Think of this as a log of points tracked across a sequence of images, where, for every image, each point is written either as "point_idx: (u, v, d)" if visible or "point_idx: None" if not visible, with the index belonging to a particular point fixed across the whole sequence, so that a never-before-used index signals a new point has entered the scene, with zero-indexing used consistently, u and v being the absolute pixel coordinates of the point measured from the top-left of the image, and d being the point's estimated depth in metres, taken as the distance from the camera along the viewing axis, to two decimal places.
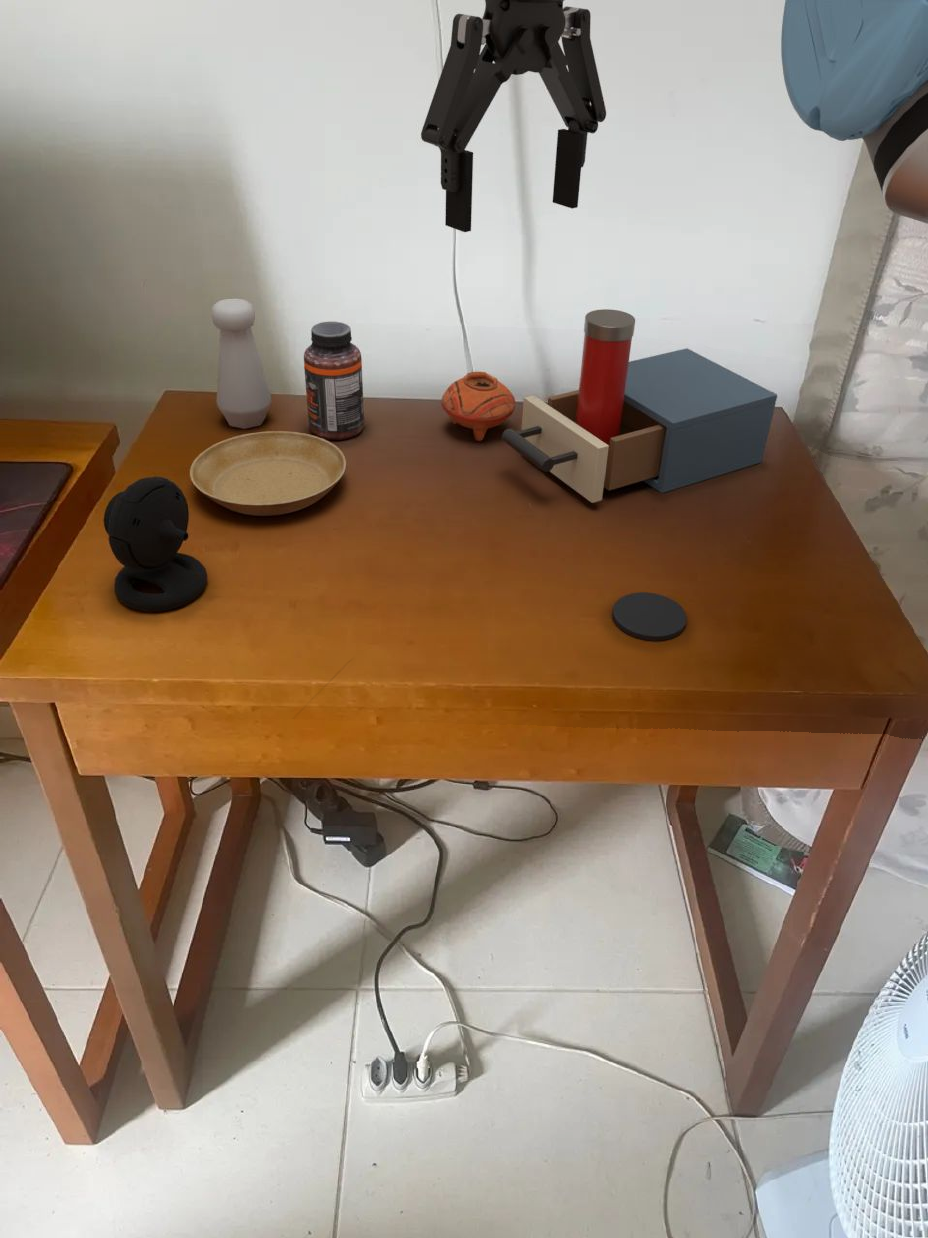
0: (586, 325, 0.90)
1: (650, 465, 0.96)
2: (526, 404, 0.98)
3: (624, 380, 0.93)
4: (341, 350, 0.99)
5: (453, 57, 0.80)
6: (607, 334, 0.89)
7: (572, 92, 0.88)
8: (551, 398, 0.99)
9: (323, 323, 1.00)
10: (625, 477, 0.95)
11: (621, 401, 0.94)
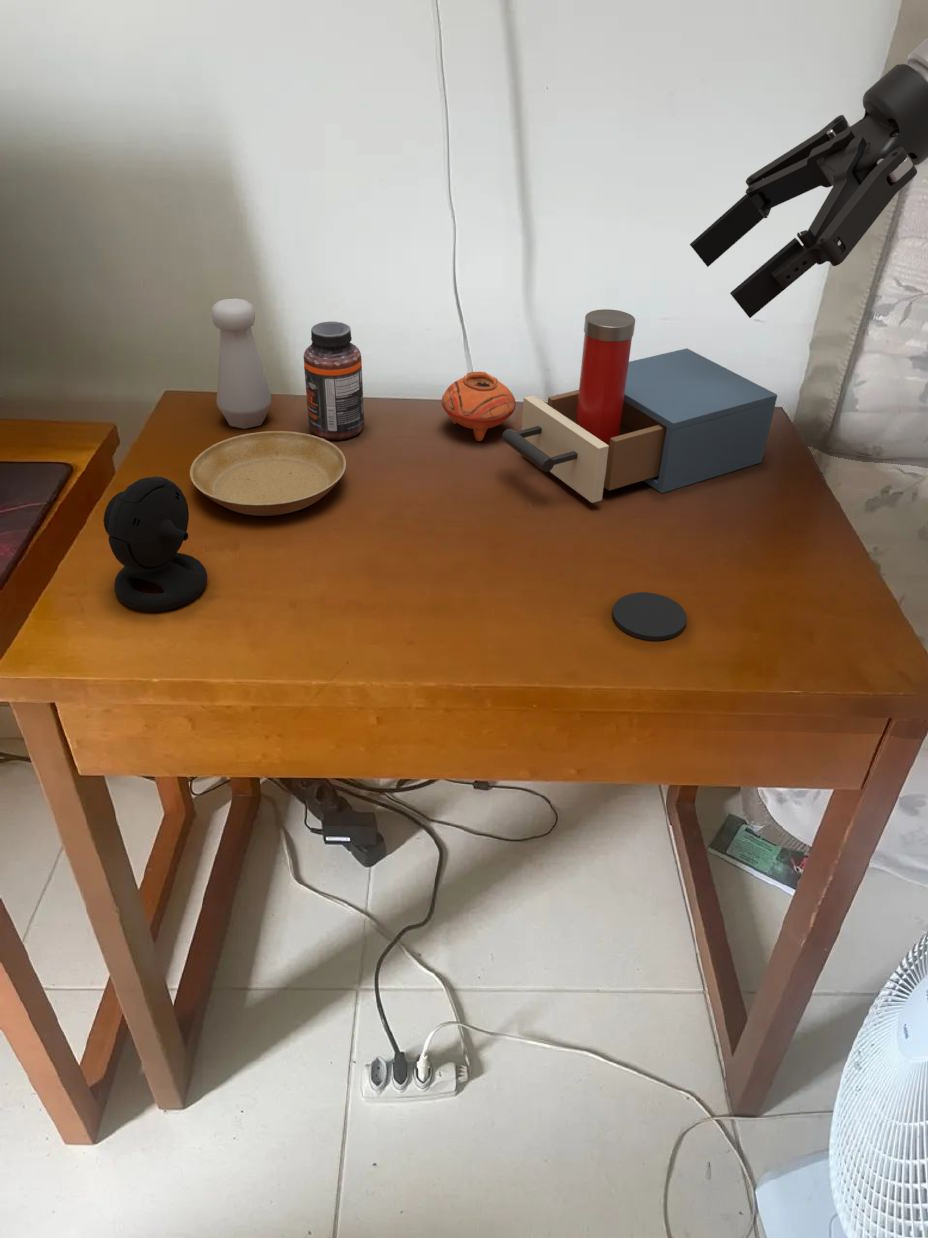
0: (586, 325, 0.90)
1: (650, 465, 0.96)
2: (526, 404, 0.98)
3: (624, 380, 0.93)
4: (341, 350, 0.99)
5: (880, 186, 0.78)
6: (607, 334, 0.89)
7: None
8: (551, 398, 0.99)
9: (323, 323, 1.00)
10: (625, 477, 0.95)
11: (621, 401, 0.94)
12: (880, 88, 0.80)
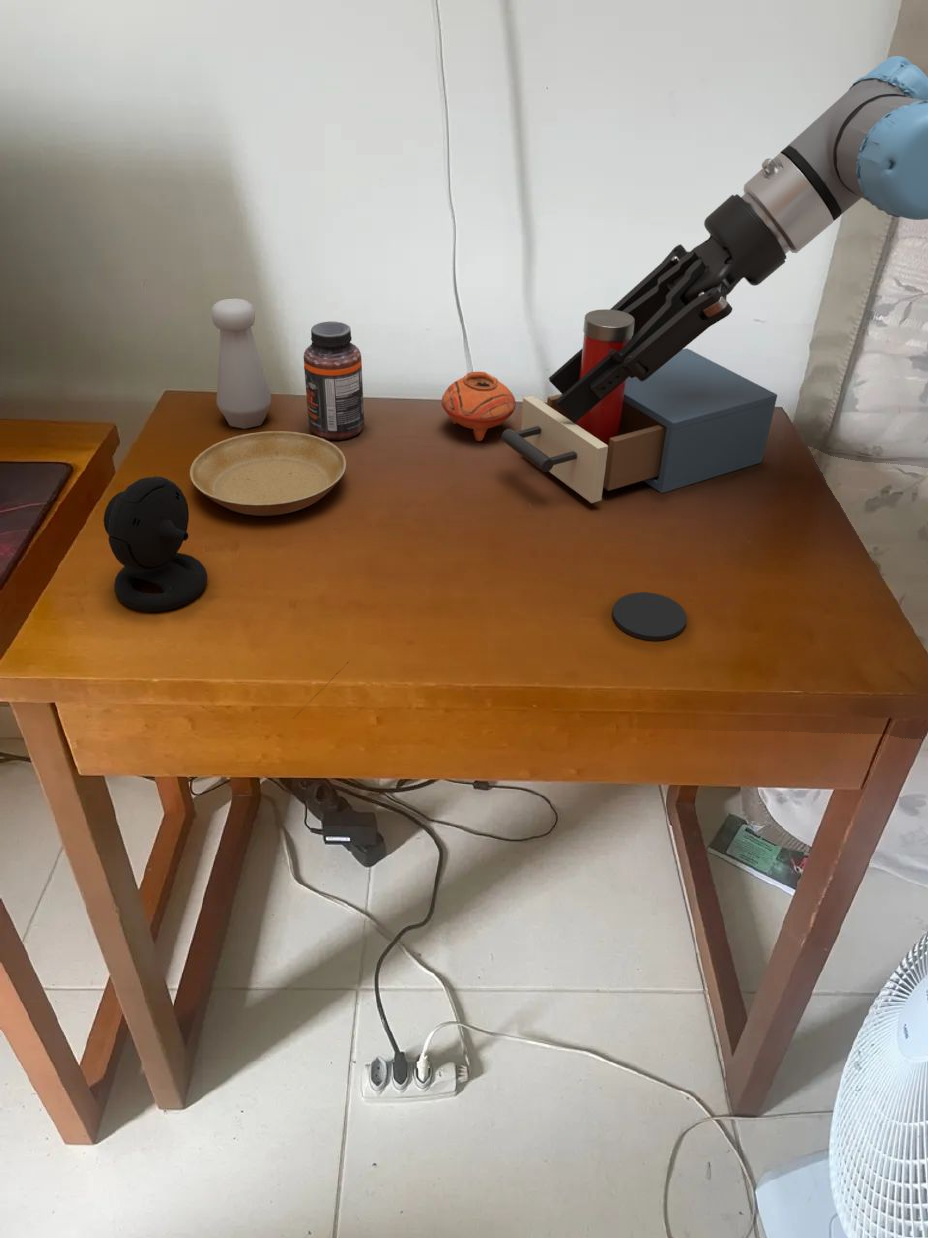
0: (585, 325, 0.90)
1: (649, 465, 0.96)
2: (525, 404, 0.98)
3: None
4: (341, 350, 0.99)
5: (691, 320, 0.85)
6: (606, 334, 0.89)
7: None
8: (550, 398, 0.98)
9: (323, 323, 1.00)
10: (624, 477, 0.95)
11: (621, 401, 0.94)
12: (716, 217, 0.85)
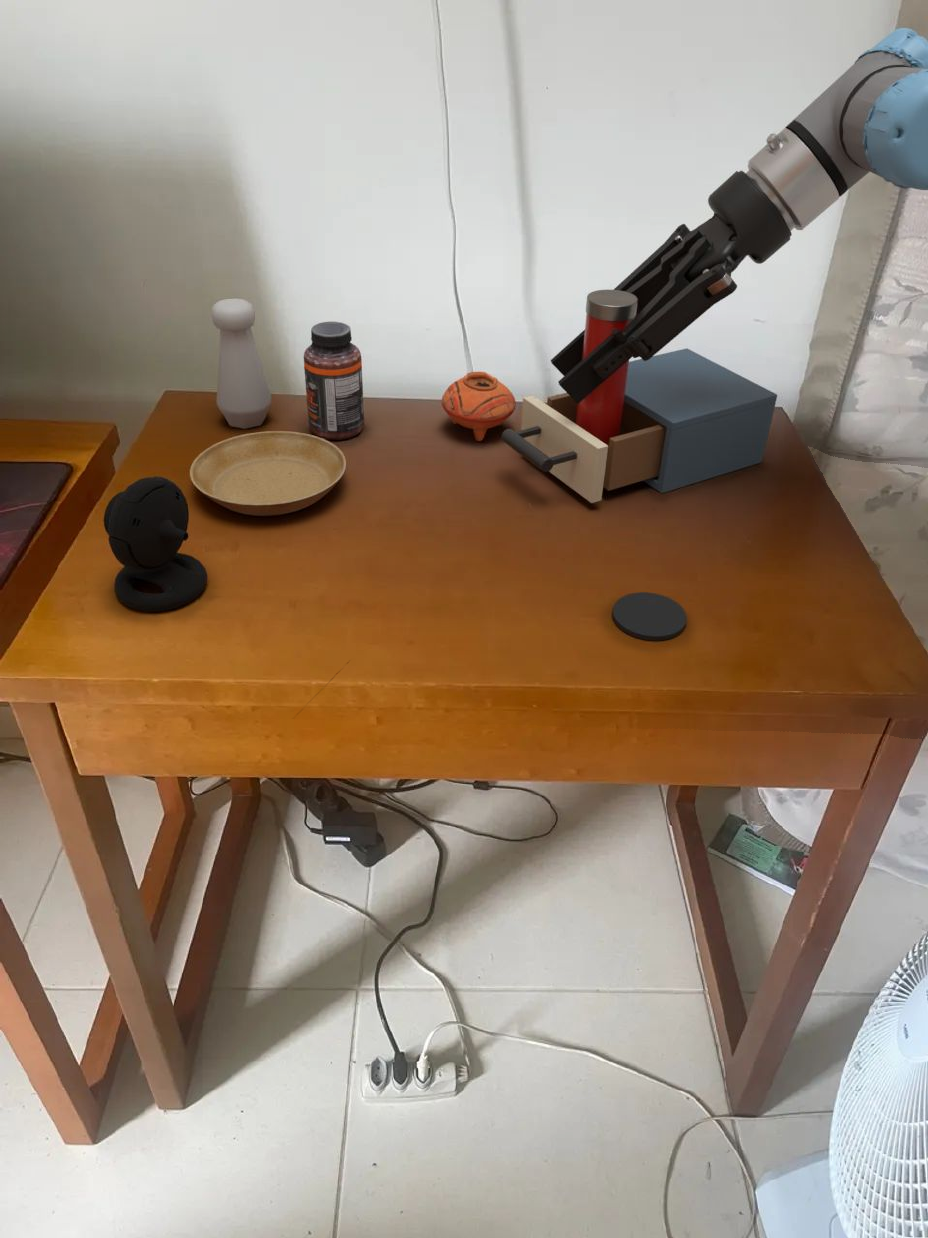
0: (588, 305, 0.89)
1: (649, 465, 0.96)
2: (525, 404, 0.98)
3: (627, 361, 0.92)
4: (341, 350, 0.99)
5: (695, 298, 0.84)
6: (609, 313, 0.88)
7: None
8: (550, 398, 0.99)
9: (323, 323, 1.00)
10: (624, 477, 0.95)
11: (624, 383, 0.93)
12: (720, 194, 0.84)
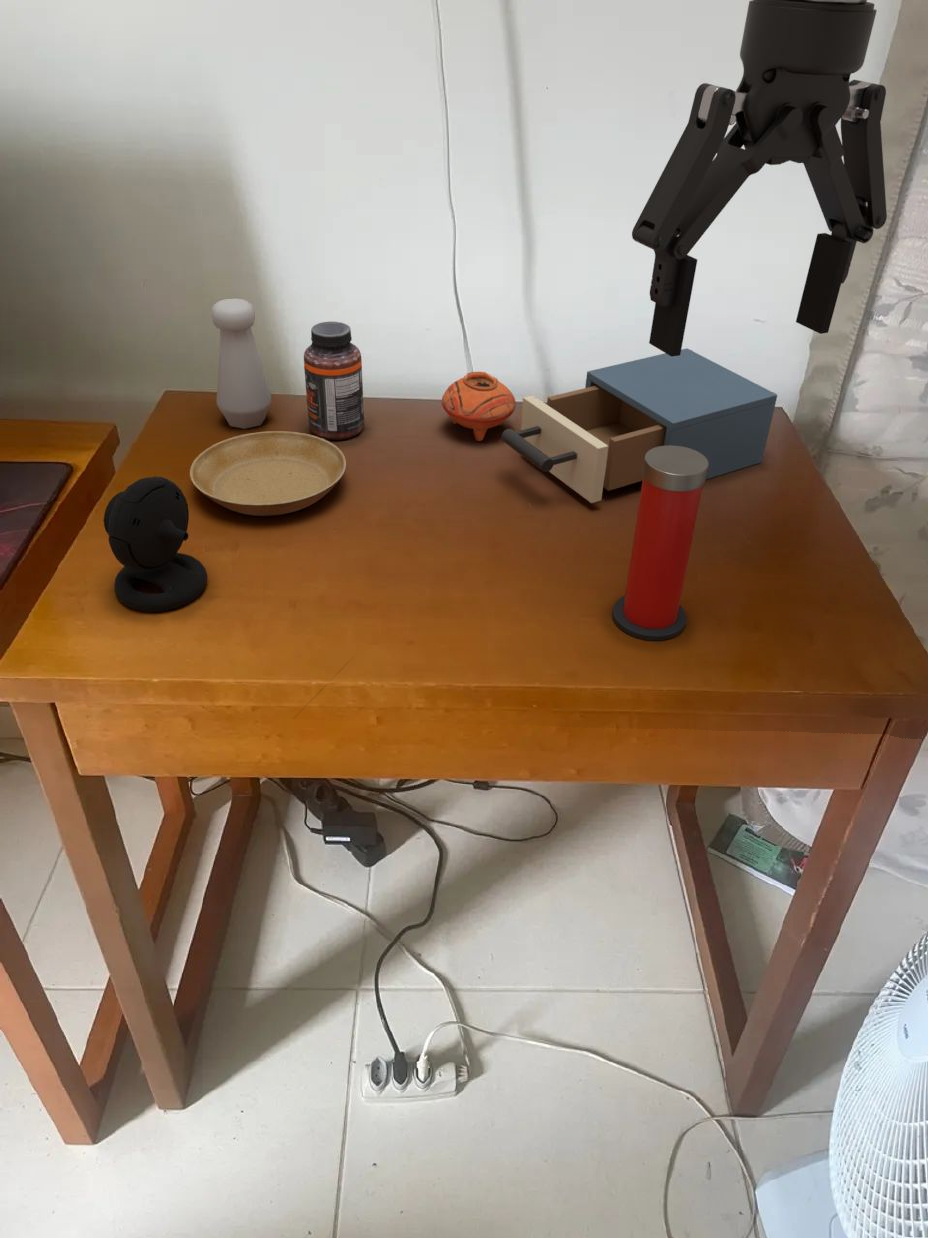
0: (646, 469, 0.72)
1: None
2: (525, 404, 0.98)
3: (692, 533, 0.74)
4: (341, 350, 0.99)
5: None
6: (674, 483, 0.70)
7: None
8: (550, 398, 0.99)
9: (323, 323, 1.00)
10: (624, 477, 0.95)
11: (687, 556, 0.75)
12: (854, 55, 0.58)
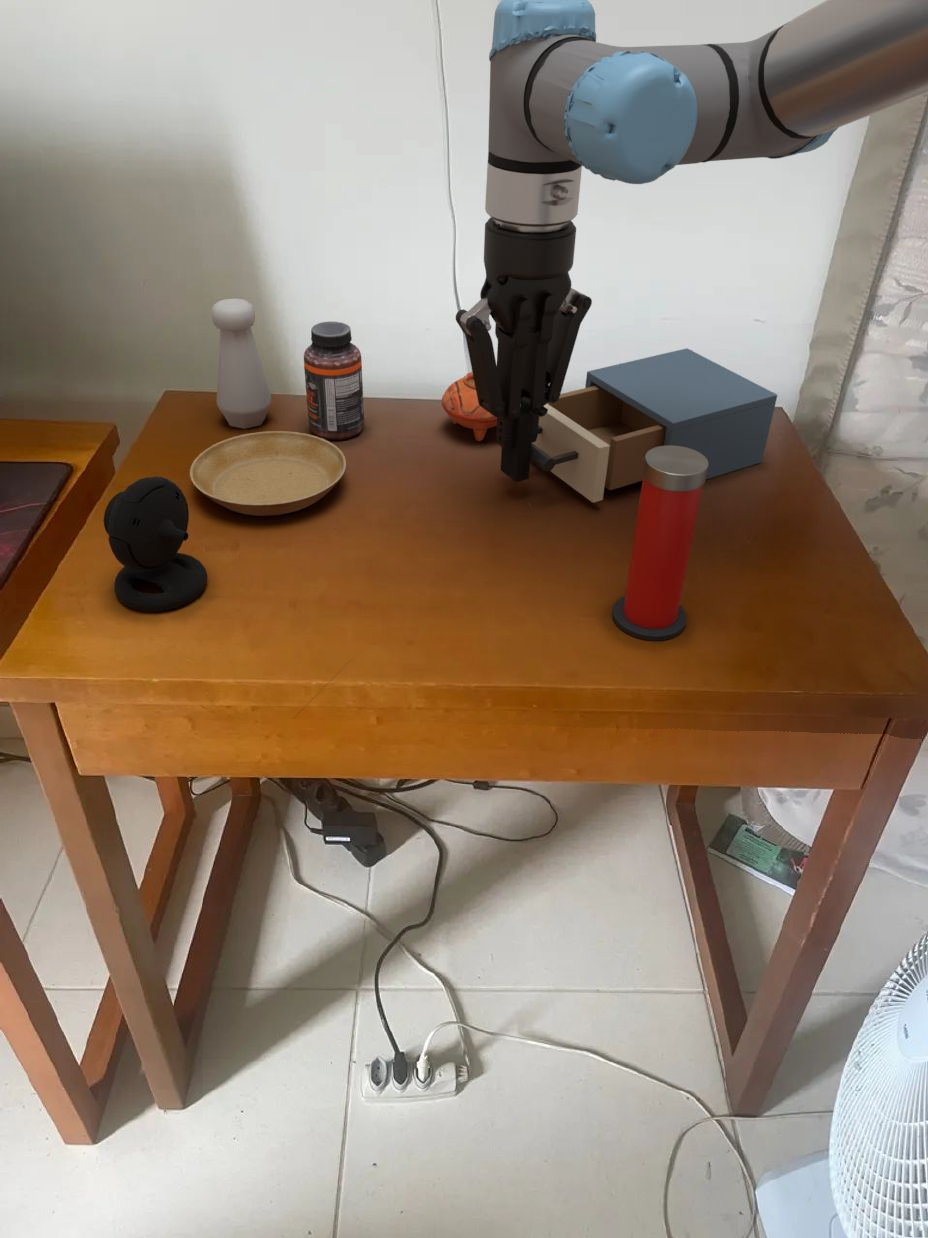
0: (646, 469, 0.72)
1: None
2: None
3: (692, 533, 0.74)
4: (341, 350, 0.99)
5: None
6: (674, 483, 0.70)
7: None
8: None
9: (323, 323, 1.00)
10: (626, 477, 0.95)
11: (687, 556, 0.75)
12: (560, 265, 0.80)
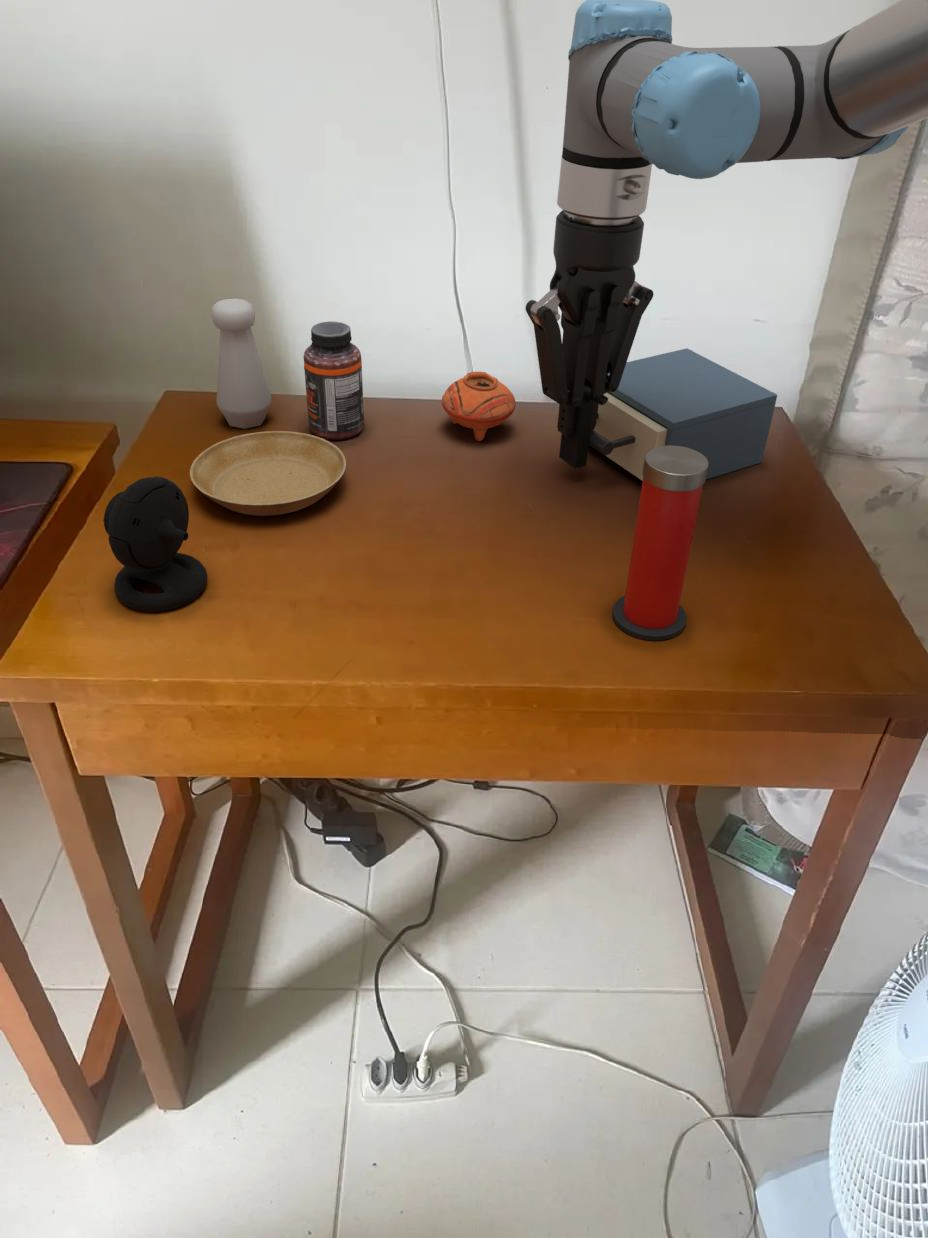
0: (646, 469, 0.72)
1: None
2: None
3: (692, 533, 0.74)
4: (341, 350, 0.99)
5: None
6: (674, 483, 0.70)
7: None
8: None
9: (323, 323, 1.00)
10: None
11: (687, 556, 0.75)
12: (629, 258, 0.83)
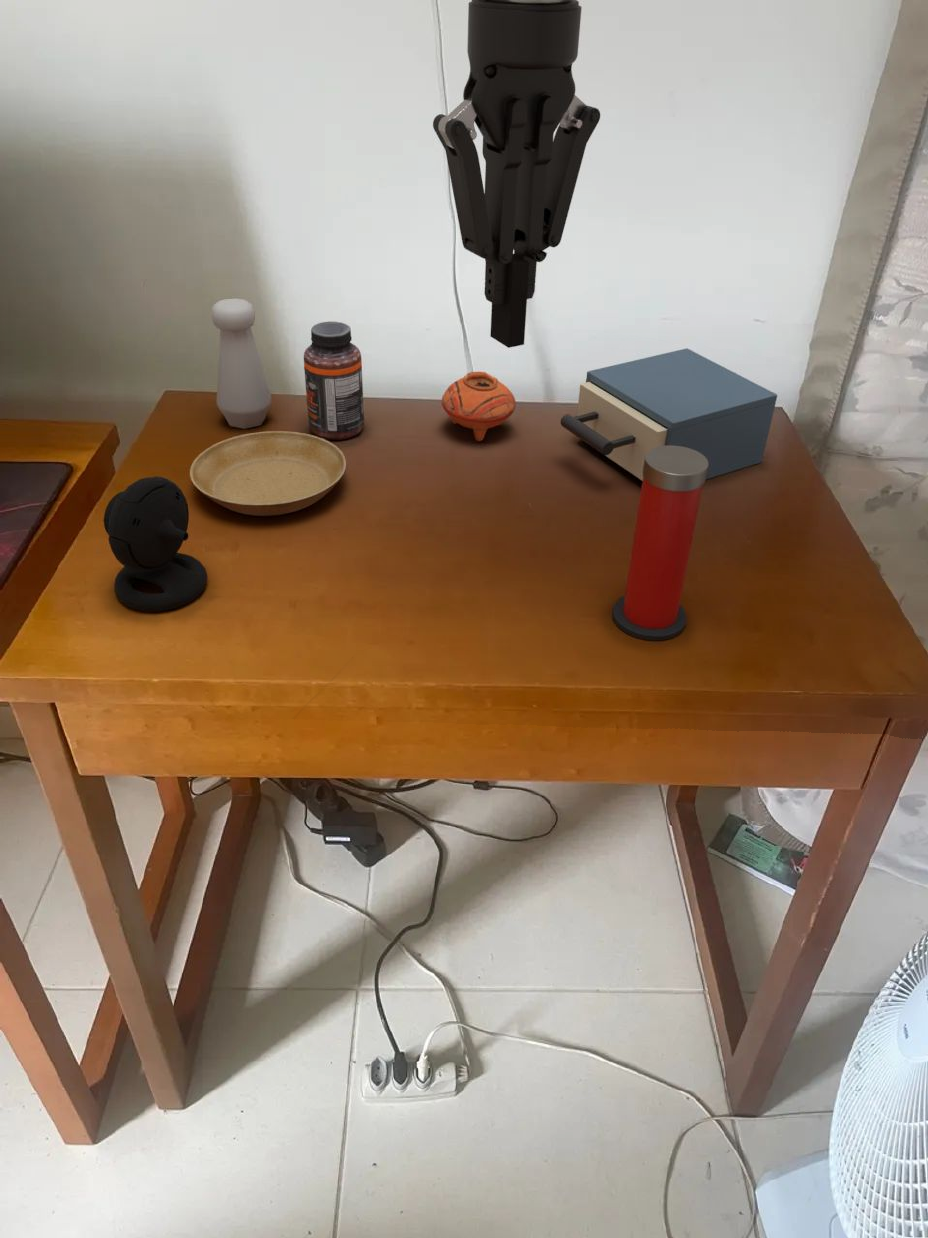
0: (646, 469, 0.72)
1: None
2: (583, 390, 1.01)
3: (692, 533, 0.74)
4: (341, 350, 0.99)
5: None
6: (674, 483, 0.70)
7: None
8: None
9: (323, 323, 1.00)
10: None
11: (687, 556, 0.75)
12: (562, 50, 0.64)
